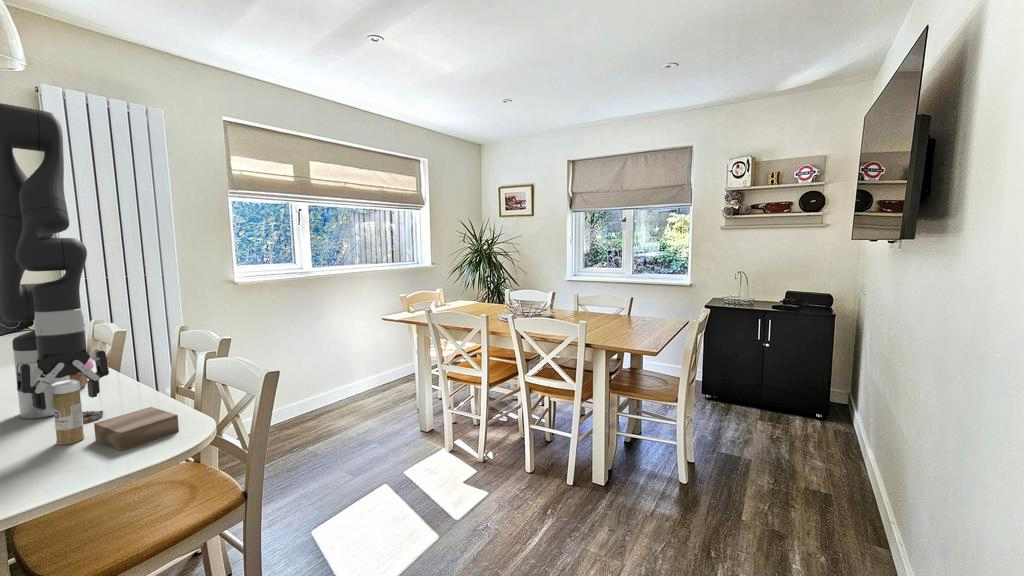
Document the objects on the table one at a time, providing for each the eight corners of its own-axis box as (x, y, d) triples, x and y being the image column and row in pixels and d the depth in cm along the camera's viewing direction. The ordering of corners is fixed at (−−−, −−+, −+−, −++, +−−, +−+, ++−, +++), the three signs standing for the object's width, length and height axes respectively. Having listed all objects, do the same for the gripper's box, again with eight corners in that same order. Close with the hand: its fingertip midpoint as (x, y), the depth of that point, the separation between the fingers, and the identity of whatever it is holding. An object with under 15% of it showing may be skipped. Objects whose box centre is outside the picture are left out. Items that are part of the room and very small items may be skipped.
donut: (101, 424, 109) (101, 416, 109) (58, 431, 105) (57, 423, 105) (111, 412, 116) (110, 405, 116) (70, 418, 112) (69, 410, 112)
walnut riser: (95, 440, 99) (94, 423, 99) (152, 422, 109) (151, 406, 109) (122, 451, 95) (120, 433, 94) (178, 431, 105) (177, 414, 104)
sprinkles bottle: (50, 445, 97) (44, 385, 95) (71, 436, 101) (65, 378, 100) (71, 445, 97) (65, 386, 95) (91, 436, 101) (85, 379, 100)
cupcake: (58, 386, 133) (54, 354, 132) (97, 381, 138) (94, 350, 137) (51, 395, 126) (47, 361, 125) (93, 389, 131) (90, 356, 130)
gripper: (93, 323, 104) (100, 390, 106) (5, 335, 91) (14, 411, 93) (110, 326, 101) (116, 395, 103) (21, 338, 88) (30, 417, 90)
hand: (68, 402), depth 98 cm, fingers open, 8 cm apart
